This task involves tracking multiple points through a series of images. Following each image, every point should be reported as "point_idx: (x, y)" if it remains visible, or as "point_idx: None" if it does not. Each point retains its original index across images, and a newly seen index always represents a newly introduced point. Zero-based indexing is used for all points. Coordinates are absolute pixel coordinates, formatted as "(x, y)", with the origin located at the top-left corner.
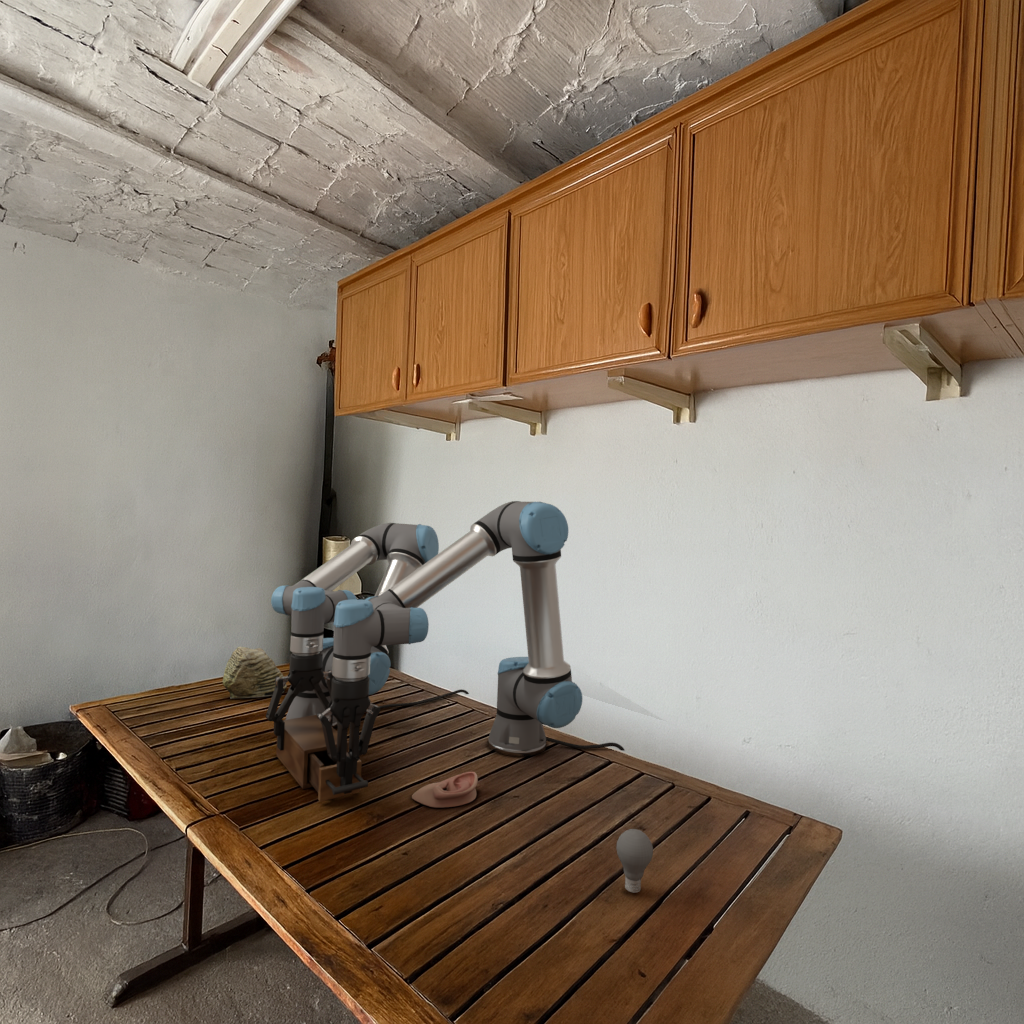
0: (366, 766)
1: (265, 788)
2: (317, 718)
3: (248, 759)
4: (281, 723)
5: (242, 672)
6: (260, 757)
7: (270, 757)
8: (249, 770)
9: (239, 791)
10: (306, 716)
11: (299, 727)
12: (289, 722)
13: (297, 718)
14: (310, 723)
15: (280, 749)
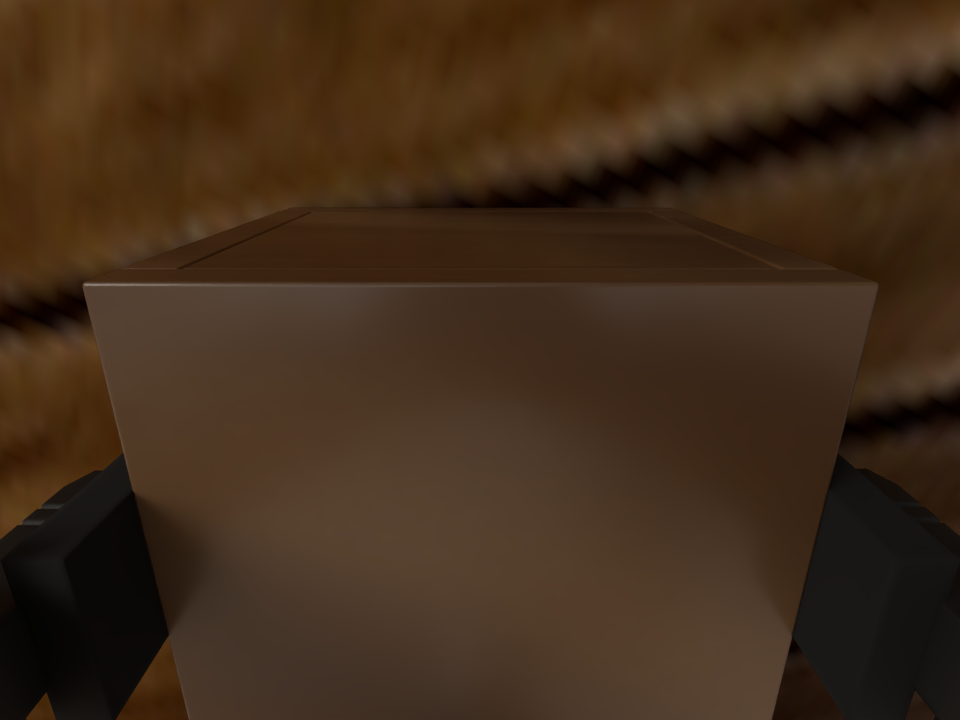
0: (796, 672)
1: (155, 666)
2: (754, 476)
3: (44, 158)
4: (64, 714)
5: None
6: (152, 166)
7: (238, 212)
8: (58, 387)
9: None
10: (641, 288)
11: (373, 678)
12: (276, 445)
13: (453, 320)
14: (564, 613)
15: None
